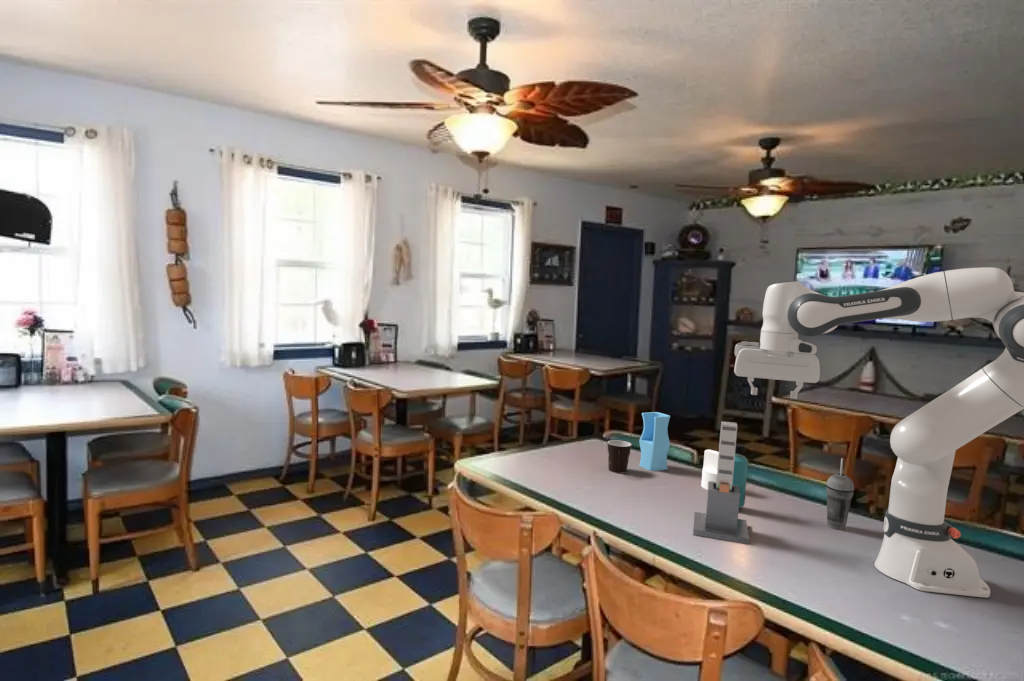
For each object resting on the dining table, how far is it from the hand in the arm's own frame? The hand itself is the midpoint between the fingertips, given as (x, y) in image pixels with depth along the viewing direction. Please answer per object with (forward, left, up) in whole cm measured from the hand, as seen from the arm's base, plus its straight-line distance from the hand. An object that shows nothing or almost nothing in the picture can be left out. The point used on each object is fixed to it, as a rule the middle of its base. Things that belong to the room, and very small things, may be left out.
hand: (773, 396), depth 154 cm
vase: (+33, -57, -39) cm, 77 cm away
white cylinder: (+11, -43, -39) cm, 59 cm away
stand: (+10, -4, -39) cm, 41 cm away
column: (+10, -4, -31) cm, 33 cm away
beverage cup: (-22, -22, -39) cm, 50 cm away
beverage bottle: (+6, -24, -39) cm, 46 cm away
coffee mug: (+45, -45, -39) cm, 75 cm away
